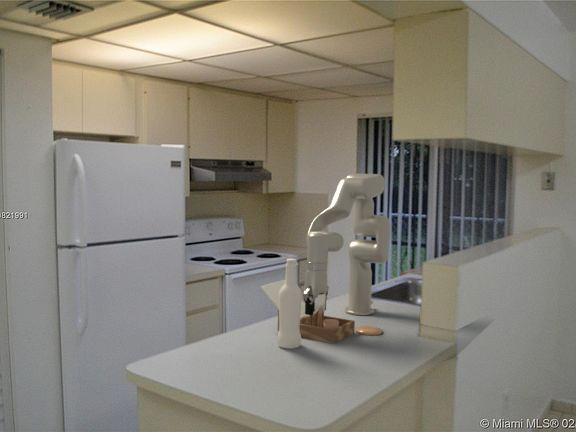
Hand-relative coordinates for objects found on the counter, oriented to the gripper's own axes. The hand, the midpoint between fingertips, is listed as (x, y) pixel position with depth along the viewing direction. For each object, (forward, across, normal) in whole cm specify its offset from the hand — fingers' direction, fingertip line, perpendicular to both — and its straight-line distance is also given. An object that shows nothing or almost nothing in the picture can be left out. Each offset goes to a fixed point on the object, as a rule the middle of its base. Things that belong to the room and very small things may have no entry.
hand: (315, 312), depth 204 cm
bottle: (+8, +20, +1) cm, 21 cm away
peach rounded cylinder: (+8, +2, +8) cm, 11 cm away
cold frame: (+8, 0, +3) cm, 8 cm away
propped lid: (+8, 0, -13) cm, 15 cm away
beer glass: (+8, 0, 0) cm, 8 cm away
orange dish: (+8, -13, +16) cm, 22 cm away
